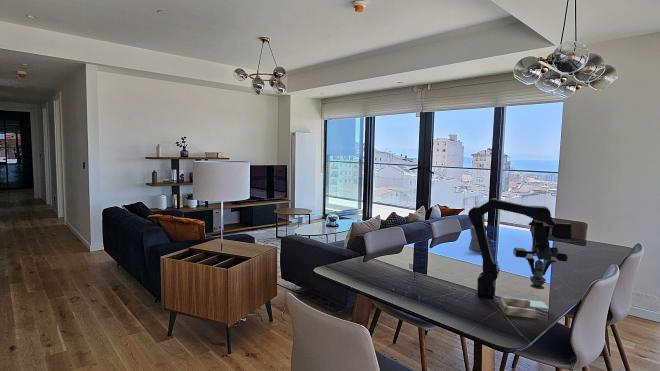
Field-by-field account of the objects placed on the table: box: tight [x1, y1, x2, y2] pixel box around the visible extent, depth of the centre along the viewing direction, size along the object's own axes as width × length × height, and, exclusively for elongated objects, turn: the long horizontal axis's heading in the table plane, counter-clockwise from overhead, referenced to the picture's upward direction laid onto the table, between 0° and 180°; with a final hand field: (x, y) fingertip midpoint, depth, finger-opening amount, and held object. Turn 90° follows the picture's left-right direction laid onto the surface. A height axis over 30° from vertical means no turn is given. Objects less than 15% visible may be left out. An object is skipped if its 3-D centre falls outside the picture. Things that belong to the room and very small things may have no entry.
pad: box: [528, 299, 550, 310], centre depth 154 cm, size 7×7×1 cm
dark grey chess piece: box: [529, 259, 547, 290], centre depth 153 cm, size 6×6×12 cm
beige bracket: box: [497, 296, 538, 319], centre depth 148 cm, size 11×11×3 cm
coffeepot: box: [468, 224, 488, 252], centre depth 247 cm, size 15×9×18 cm, turn 118°
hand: (538, 274), depth 153 cm, fingers closed on dark grey chess piece, 3 cm apart
